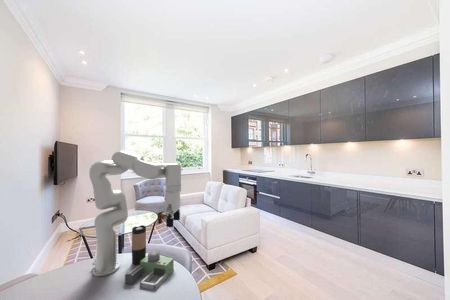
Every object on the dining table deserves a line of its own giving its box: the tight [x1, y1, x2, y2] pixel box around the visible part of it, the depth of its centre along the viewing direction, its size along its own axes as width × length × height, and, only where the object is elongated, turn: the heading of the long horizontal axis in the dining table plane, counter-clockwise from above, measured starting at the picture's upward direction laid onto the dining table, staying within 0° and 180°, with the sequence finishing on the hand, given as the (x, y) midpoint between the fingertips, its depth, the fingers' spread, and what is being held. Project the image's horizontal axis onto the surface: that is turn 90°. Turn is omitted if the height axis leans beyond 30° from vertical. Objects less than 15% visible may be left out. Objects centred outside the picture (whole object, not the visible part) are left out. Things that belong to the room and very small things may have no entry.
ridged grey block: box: [124, 265, 144, 286], centre depth 94 cm, size 4×7×5 cm, turn 164°
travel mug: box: [131, 225, 147, 266], centre depth 111 cm, size 8×8×20 cm
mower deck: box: [139, 250, 174, 291], centre depth 97 cm, size 16×16×9 cm
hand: (173, 223), depth 92 cm, fingers open, 9 cm apart
